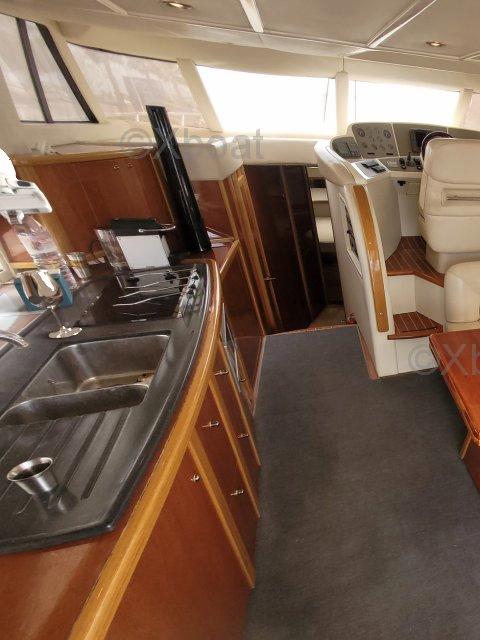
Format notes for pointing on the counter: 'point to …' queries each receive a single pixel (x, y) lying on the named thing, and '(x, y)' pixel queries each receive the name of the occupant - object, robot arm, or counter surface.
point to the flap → (51, 271)
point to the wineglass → (46, 297)
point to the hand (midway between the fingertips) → (15, 223)
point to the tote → (59, 280)
